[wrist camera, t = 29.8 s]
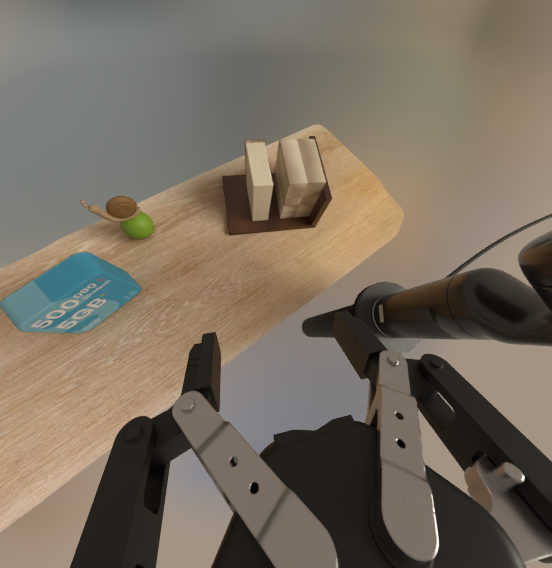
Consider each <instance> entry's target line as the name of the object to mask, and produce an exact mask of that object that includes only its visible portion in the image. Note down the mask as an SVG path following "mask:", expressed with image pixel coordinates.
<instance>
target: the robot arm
mask: <svg viewBox="0 0 552 568" xmlns="http://www.w3.org/2000/svg"><path fill="white" fill-rule="evenodd" d="M551 217H552V214H550V215H548V216H545V217H543V218H541V219H539V220H536V221H534V222H532V223H530V224H528V225H525V226H523V227H521V228H520V229H517V230H516V231H514V232H512V233H510V234H508V235H506V236H504V237H503V238H501V239H499V240H498V241H496V242H494V243H493V244H491V245H490V246H488V247H486V248H485V249H483V250H482V251H480V252H479V253H477V254H476V255H475V256H473V257H472V258H470V259H469V260H468V261H466V262H465V263H464V264H462V265H461V266H460V267H458V268H457V269H456V270H454V271H453V272H452V273H451V274H449V275H448V276H447V277H446V278H444V279H441V280H438V281H434V282H431V283H428V284H424V285H421V286H417V287H414V288H410V289H407V290H403V291H400V292H396V293H393V294H389V295H384V296H381V297H379V298H378V299H377V300H376V301H375V302H374V304H373V306H372V310H371V317H372V321H373V324H374V326H375V327H376V329H377V330H378V331H379V332H380V333H381V334H382V335H384V336H386V337H388V338H392V339H399V338H409V339H477V340H479V339H480V340H497V341H500V342H504V343H509V344H519V345H538V346H552V231H550V232H548V233H546V234H544V235H542V236H540V237H538V238H536V239H534V240H533V241H531V242H530V243H529V244H528V245H526V246H525V247H524V248H523V249H522V250H521V252H520V253H519V255H518V262H519V265H520V268H521V270H522V272H523V274H524V276H525V277H526V279H527V280H528V281H529V283H530V284H531V285H532V287H533V288H532V287H530V286H528V285H526V284H525V283H523V282H521V281H520V280H518V279H517V278H515V277H513V276H512V275H510V274H508V273H506V272H504V271H501V270H497V269H493V268H479V269H475V270H471V271H468V272H464V273H461V274H458V275H456V274H457V273H458V272H459V271H461V270H462V269H463V268H465V267H466V266H467V265H469V264H470V263H471V262H472V261H474V260H475V259H477V258H478V257H480V256H481V255H482V254H484V253H485V252H487V251H488V250H490V249H491V248H493V247H494V246H496V245H498V244H499V243H501V242H503V241H504V240H506V239H508V238H509V237H511V236H513V235H515V234H517V233H518V232H520V231H522V230H524V229H526V228H528V227H530V226H533V225H535V224H537V223H539V222H541V221H543V220H546V219H548V218H551ZM333 335H334V337H335V339H336V340H337V342H338V344H339V345H340V347H341V348H342V350H343V352H344V353H345V355H346V356H347V358H348V359H349V361H350V363H351V364H352V366H353V367H354V369H355V371H356V372H357V373H358V375H359V377H360V378H361V379H365V378H368V379H369V380H370V383H369V393H368V394H369V395H368V407H367V416H366V420H365V423H362V422H358V421H354V420H353V418H352V416H351V415H348V416H344V417H340V418H336V419H333V420H331V421H330V422H328V423H327V424H325V425H324V426H322V427H321V428H319V429H318V430H315V431H310V430H309V431H308V430H291V431H287V432H283V433H279V434H276V435H274V442H272V443H271V444H270V445H268V446H267V447H266V448H265V449H264V450H263V451H262V452H261V454H260V455H258V454H257V453H256V452H255V451H254V449H252V447H251V446H250V445H249V444H248V443H247V442H246V440H245V439H244V438H243V437H242V436H241V435H240V434H239V432H238V431H237V430H236V429H235V428H234V427H233V426H232V425H231V424H230V423H229V422H226V421H224V420H223V419H222V418H221V416H220V415H219V414H218V413H217V412H219V407H220V372H221V353H220V347H219V343H218V339H217V335H216V332H213V333H207V334H203V336H202V342H201V343H199V344H194V346H193V347H192V349H191V350H190V353H189V358H188V363H187V368H186V373H185V378H184V383H183V388H182V393H181V396H180V397H179V398H178V399H177V401H176V402H175V404H174V405H173V406H172V407H171V408H170V409H169V410H167V411H165V412H163V413H161V414H160V415H158V416H156V417H154V418H152V419H150V418H149V417H146V416H140V417H137V418H135V419H132V420H131V421H129V422H128V423H127V424H126V425H125V426H123V428H122V429H121V430H120V431H119V433H118V434H117V436H116V438H115V441H114V444H113V447H112V450H111V453H110V456H109V458H108V461H107V464H106V467H105V470H104V472H103V475H102V478H101V481H100V484H99V487H98V489H97V493H96V495H95V498H94V501H93V504H92V507H91V510H90V512H89V515H88V518H87V521H86V524H85V527H84V529H83V532H82V535H81V538H80V541H79V544H78V547H77V549H76V553H75V555H74V558H73V561H72V563H71V566H70V568H156V561H157V553H158V547H159V540H160V532H161V525H162V518H163V511H164V503H165V495H166V489H167V482H168V475H169V467H170V461H171V460H173V459H174V458H176V457H178V456H179V455H181V454H182V453H184V452H185V451H187V450H189V449H190V448H192V450H193V452H194V453H195V455H196V456H197V458H198V459H199V461H200V462H201V464H202V465H203V467H204V468H205V470H206V471H207V473H208V474H209V476H210V477H211V479H212V481H213V482H214V484H215V486H216V487H217V489H218V490H219V492H220V493H221V495H222V496H223V498H224V499H225V501H226V502H227V504H228V505H229V507H230V509H231V510H232V512H233V516H232V518H231V521H230V523H229V526H228V528H227V531H226V533H225V535H224V538H223V540H222V542H221V545H220V547H219V550H218V552H217V555H216V557H215V560H214V562H213V564H212V567H211V568H526V566H525V564H527V563H531V562H534V561H537V560H538V561H541V562H543V563H552V462H551V461H550V460H549V459H548V458H547V457H546V456H545V455H544V454H543V453H542V452H541V451H540V450H539V449H538V448H537V447H535V445H533V443H531V442H530V441H529V440H528V439H527V438H526V437H525V436H524V435H523V434H522V433H521V432H520V431H519V430H518V429H517V428H516V427H515V426H514V425H513V424H511V423H510V422H509V421H508V420H507V419H506V418H505V417H504V416H503V415H502V414H501V413H500V412H499V411H498V410H497V409H496V408H495V407H494V406H493V405H492V404H491V403H490V402H488V401H487V400H486V399H485V398H484V397H483V396H482V395H481V394H480V393H479V392H478V391H477V390H476V389H475V388H474V387H473V386H472V385H471V384H470V383H469V382H467V381H466V380H465V379H464V378H463V377H462V376H461V375H460V374H459V373H458V372H457V371H456V370H455V369H454V368H453V367H452V366H451V365H450V364H449V363H448V362H446V361H445V360H444V359H442V358H441V357H438V356H436V355H433V354H424V355H423V356H422V358H421V359H420V360H415V359H405V358H404V357H403V356H401V355H400V354H398V353H396V352H394V351H390V350H388V349H387V348H386V347H385V346H384V345H383V344H382V342H381V341H380V340H379V339H378V338H377V337H376V336H375V334H374V333H372V331H371V330H370V329H369V328H368V326H367V325H366V324H365V323H364V322H363V321H362V320H360V319H359V318H357V317H353V316H352V315H351V314H350V313H349V312H348V311H342V312H336V313H335V318H334V324H333ZM438 392H439V393H440V394H441V395H442V396H443V397H444V399H446V401H447V402H448V403H449V404H450V405H451V407H452V408H453V410H454V412H455V413H454V412H453V411H452V409H451V408H450V407H449V406H448V405H447V404H446V403H445V401H444V400H443V399H442V398H441V396H440V395H439V394H438ZM417 408H418V409H419V410H420V412H421V413H422V414H423V416H424V417H425V419H426V420H427V421H428V423H429V424H430V425H431V427H432V428H433V429H434V431H435V432H436V434H437V435H438V436H439V438H440V439H441V440H442V442H443V443H444V445H445V446H446V447H447V449H448V450H449V451H450V453H451V454H452V455H453V457H454V458H455V459H456V461H457V462H458V464H459V465H460V466H461V468H462V469H463V471H464V472H465V473H464V476H465V480H466V483H467V486H468V492H469V494H470V496H471V497H472V498H471V497H469V496H468V495H467V494H466V493H464V492H463V491H461V490H460V489H459V488H457V487H456V486H455V485H453V484H452V483H450V482H449V481H448V480H446V479H445V478H443V477H442V476H441V475H439V474H438V473H436V472H435V471H434V470H432V469H431V468H430V467H428V466H427V465H425V463H424V457H423V448H422V441H421V432H420V425H419V417H418V409H417Z"/></svg>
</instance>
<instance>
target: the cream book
mask: <svg viewBox="0 0 552 568" xmlns="http://www.w3.org/2000/svg"><path fill="white" fill-rule="evenodd" d="M245 165H246V186H247V192H248V197H249V203H250V209H251V215H252V221H261V220H268V215H269V209H270V202H271V196H272V190H273V181H272V177H271V172H270V167H269V162H268V157H267V153H266V148H265V142H264V140H245Z"/></svg>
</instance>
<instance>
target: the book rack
mask: <svg viewBox="0 0 552 568" xmlns="http://www.w3.org/2000/svg"><path fill="white" fill-rule="evenodd" d="M271 177H272V181H273V190H272V196H271V202H270V209H269V215H268V220H261V221H252V215H251V209H250V203H249V197H248V192H247V186H246V175H235V176H222V178H223V186H224V193H225V201H226V208H227V216H228V223H229V231H230V235H239V234H250V233H260V232H271V231H281V230H292V229H303V228H313V227H315V226H316V224H317V223H318V221H319V219H320V218H321V216H322V214H323V213H324V211H325V209H326V208H327V206H328V204H329V203H330V201H331V199H332V197H331V193H330V189H329V186H328V182H327V178H326V175H325V171H324V167H323V164H322V160H321V156H320V153H319V149H318V145H317V142H316V138H315V136H310V137H309V139H283V140H280V141H279V147H278V154H277V160H276V167H275V173H274V174H271Z"/></svg>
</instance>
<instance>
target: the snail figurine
mask: <svg viewBox="0 0 552 568" xmlns="http://www.w3.org/2000/svg"><path fill="white" fill-rule="evenodd" d="M80 202H81V204H82V206H83V207H86V208H87V205H86V204H85V202H84V201H82V200H81V201H80ZM140 209H141V208H140V207H138V208H137V204H136V202H135V201H134V200H132V199H131V198H129V197H125V196H117V197H114V198H112V199H110V200H109V201H108V202H107V204H106V210H107V212H108V213H107V212H105V211H103V210H101V209H100V208H99V207H98V206H97V205H90V206H88V210H89V211H90V212H92V213H94V214H97V215H98V216H100V217H102V218H104V219H107V220H109V221H113V222H120V224H121V228H122V230H123V231H124V232H125V233H126V234H127V235H128V236H130V237H132V238H136V239H144V238H147V237H148V236H150V235H151V234H152V232H153V229H154V225H153V222H152V220H151V218H150V217H149V216H148V215H147V214H145V213H143V212H141V211H140Z"/></svg>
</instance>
